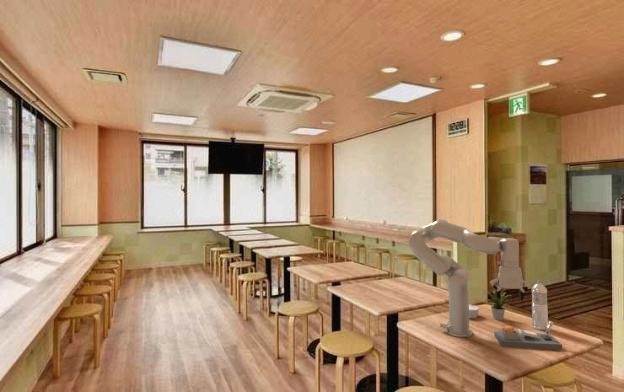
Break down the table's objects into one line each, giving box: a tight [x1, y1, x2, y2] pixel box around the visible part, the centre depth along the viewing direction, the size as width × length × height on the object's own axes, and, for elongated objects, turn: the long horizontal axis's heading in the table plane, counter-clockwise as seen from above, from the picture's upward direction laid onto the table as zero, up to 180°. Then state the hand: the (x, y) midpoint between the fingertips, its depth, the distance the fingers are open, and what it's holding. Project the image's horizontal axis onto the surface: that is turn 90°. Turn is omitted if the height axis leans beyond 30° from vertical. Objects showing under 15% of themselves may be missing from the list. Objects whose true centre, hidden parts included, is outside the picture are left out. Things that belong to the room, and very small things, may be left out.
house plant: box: [485, 289, 511, 321], centre depth 198 cm, size 14×14×16 cm
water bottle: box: [531, 280, 549, 331], centre depth 184 cm, size 7×7×25 cm
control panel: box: [493, 327, 563, 351], centre depth 167 cm, size 25×12×6 cm, turn 78°
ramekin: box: [469, 303, 480, 319], centre depth 205 cm, size 11×11×5 cm
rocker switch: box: [517, 328, 538, 338], centre depth 167 cm, size 7×4×1 cm, turn 78°
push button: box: [503, 325, 515, 333], centre depth 169 cm, size 4×4×3 cm
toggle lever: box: [543, 320, 554, 336], centre depth 165 cm, size 2×2×8 cm
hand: (509, 299), depth 169 cm, fingers open, 9 cm apart
